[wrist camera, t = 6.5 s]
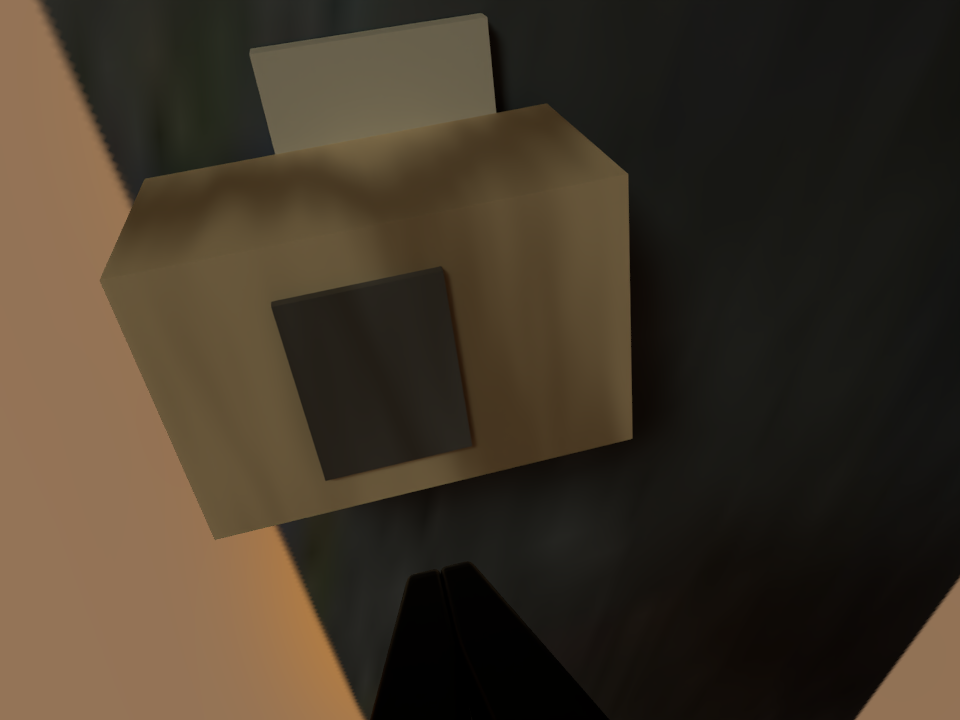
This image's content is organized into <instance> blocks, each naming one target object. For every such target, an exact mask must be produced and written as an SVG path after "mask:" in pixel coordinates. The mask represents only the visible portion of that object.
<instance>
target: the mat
mask: <svg viewBox="0 0 960 720" xmlns="http://www.w3.org/2000/svg"><path fill="white" fill-rule="evenodd" d="M250 58H251V62H252V66H253V70H254V74H255V77H256V81H257V85H258V89H259V93H260V97H261V101H262V105H263V108H264V112H265V116H266V120H267V124H268V128H269V132H270V136H271V139H272V143H273V147H274V151H275V154H281V153H286V152H291V151H297V150H302V149H307V148H313V147H318V146H323V145H329V144H334V143H339V142H345V141H350V140H355V139H361V138H366V137H371V136H377V135H382V134H387V133H393V132H398V131H403V130H409V129H414V128H419V127H424V126H430V125H435V124H440V123H446V122H451V121H456V120H462V119H467V118H472V117H478V116H483V115H488V114H494V113H496V105H495V94H494V84H493V73H492V62H491V52H490V41H489V31H488V20H487V17H486V16H485V15H483V14H482V13H478V14H471V15H465V16H459V17H452V18H446V19H439V20H433V21H426V22H420V23H413V24H407V25H401V26H394V27H388V28H381V29H375V30H368V31H362V32H356V33H349V34H343V35H336V36H330V37H323V38H317V39H310V40H304V41H298V42H291V43H285V44H278V45H272V46H265V47H259V48H252V49H250Z"/></svg>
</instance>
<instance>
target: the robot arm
mask: <svg viewBox="0 0 960 720" xmlns="http://www.w3.org/2000/svg"><path fill="white" fill-rule="evenodd" d="M441 577H442V578H441ZM469 708H470V709H469ZM470 713H471V714H470ZM471 717H472V719H471ZM370 720H609V719H608V718H607V716H606V715H605V714H604V713H603V712H602V711H601V710H600V708H599V707H598V706H597V705H596V704H595V703H594V701H593V700H592V699H591V698H590V697H589V696H588V695H587V693H586V692H585V691H584V690H583V689H582V688H581V687H580V685H579V684H578V683H577V682H576V681H575V680H574V679H573V677H572V676H571V675H570V674H569V673H568V672H567V671H566V669H565V668H564V667H563V666H562V665H561V664H560V663H559V661H558V660H557V659H556V658H555V657H554V656H553V655H552V653H551V652H550V651H549V650H548V649H547V648H546V647H545V645H544V644H543V643H542V642H541V641H540V640H539V638H538V637H537V636H536V635H535V634H534V633H533V632H532V630H531V629H530V628H529V627H528V626H527V625H526V624H525V622H524V621H523V620H522V619H521V618H520V617H519V616H518V614H517V613H516V612H515V611H514V610H513V609H512V608H511V606H510V605H509V604H508V603H507V602H506V601H505V600H504V598H503V597H502V596H501V595H500V594H499V593H498V592H497V590H496V589H495V588H494V587H493V586H492V585H491V584H490V582H489V581H488V580H487V579H486V578H485V577H484V575H483V574H482V573H481V572H480V571H479V570H478V569H477V567H476V566H475V565H474V564H472V563H471V562H462V563H458V564H454V565H450V566H446V567H444V568H443V569H442V570H441V574H440V572H439V571H438V570H436V569H433V570H429V571H425V572H421V573H417V574H413V575H411V576H410V577H409V578H408V580H407V582H406V586H405V590H404V593H403V597H402V601H401V605H400V609H399V612H398V616H397V620H396V624H395V627H394V631H393V635H392V639H391V643H390V646H389V650H388V654H387V658H386V662H385V665H384V669H383V673H382V677H381V680H380V684H379V688H378V692H377V696H376V699H375V703H374V707H373V711H372V714H371V718H370Z"/></svg>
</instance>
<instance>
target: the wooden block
mask: <svg viewBox="0 0 960 720" xmlns="http://www.w3.org/2000/svg"><path fill="white" fill-rule="evenodd" d="M100 282H101V284H102V287H103V289H104V291H105V293H106V296H107V298H108V300H109V302H110V305H111V307H112V309H113V311H114V314H115V316H116V318H117V320H118V323H119V325H120V327H121V329H122V332H123V334H124V336H125V338H126V341H127V343H128V345H129V347H130V350H131V352H132V354H133V356H134V359H135V361H136V363H137V365H138V368H139V370H140V372H141V374H142V377H143V379H144V381H145V383H146V386H147V388H148V390H149V392H150V395H151V397H152V399H153V401H154V404H155V406H156V408H157V411H158V413H159V415H160V417H161V420H162V422H163V424H164V426H165V428H166V430H167V433H168V435H169V438H170V440H171V442H172V444H173V446H174V449H175V451H176V453H177V456H178V458H179V460H180V462H181V465H182V467H183V469H184V471H185V473H186V476H187V478H188V480H189V482H190V485H191V487H192V489H193V492H194V494H195V496H196V498H197V501H198V503H199V505H200V507H201V510H202V512H203V514H204V516H205V519H206V521H207V523H208V525H209V528H210V530H211V532H212V534H213V537H214V539H215V540H216V539H220V538H224V537H228V536H232V535H236V534H240V533H245V532H249V531H253V530H257V529H261V528H265V527H270V526H274V525H278V524H282V523H286V522H290V521H294V520H299V519H303V518H307V517H311V516H315V515H319V514H323V513H327V512H332V511H336V510H340V509H344V508H348V507H352V506H356V505H361V504H365V503H369V502H373V501H377V500H381V499H385V498H389V497H394V496H398V495H402V494H406V493H410V492H414V491H418V490H423V489H427V488H431V487H435V486H439V485H443V484H447V483H452V482H456V481H460V480H464V479H468V478H472V477H476V476H480V475H485V474H489V473H493V472H497V471H501V470H505V469H509V468H514V467H518V466H522V465H526V464H530V463H534V462H538V461H543V460H547V459H551V458H555V457H559V456H563V455H567V454H571V453H576V452H580V451H584V450H588V449H592V448H596V447H600V446H605V445H609V444H613V443H617V442H621V441H625V440H629V439H633V436H632V376H631V315H630V255H629V195H628V174H627V173H626V172H625V171H624V170H623V169H622V168H621V167H619V166H618V165H617V164H616V163H615V162H614V161H612V160H611V159H610V158H609V157H608V156H607V155H606V154H604V153H603V152H602V151H601V150H600V149H599V148H597V147H596V146H595V145H594V144H593V143H592V142H591V141H589V140H588V139H587V138H586V137H585V136H584V135H582V134H581V133H580V132H579V131H578V130H577V129H576V128H574V127H573V126H572V125H571V124H570V123H569V122H567V121H566V120H565V119H564V118H563V117H562V116H561V115H559V114H558V113H557V112H556V111H555V110H554V109H552V108H551V107H550V106H549V105H548V104H542V105H536V106H531V107H526V108H520V109H515V110H510V111H504V112H499V113H494V114H488V115H483V116H478V117H472V118H467V119H462V120H456V121H451V122H446V123H440V124H435V125H430V126H424V127H419V128H414V129H409V130H403V131H398V132H393V133H387V134H382V135H377V136H371V137H366V138H361V139H355V140H350V141H345V142H339V143H334V144H329V145H323V146H318V147H313V148H307V149H302V150H297V151H291V152H286V153H281V154H275V155H270V156H265V157H259V158H254V159H249V160H243V161H238V162H233V163H227V164H222V165H217V166H211V167H206V168H201V169H195V170H190V171H185V172H179V173H174V174H169V175H164V176H158V177H153V178H148V179H144V182H143V184H142V186H141V188H140V191H139V193H138V195H137V197H136V200H135V202H134V204H133V206H132V209H131V211H130V213H129V215H128V218H127V220H126V222H125V224H124V227H123V229H122V231H121V233H120V236H119V238H118V240H117V242H116V245H115V247H114V249H113V252H112V254H111V256H110V258H109V261H108V263H107V265H106V267H105V270H104V272H103V274H102V276H101V279H100Z"/></svg>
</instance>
